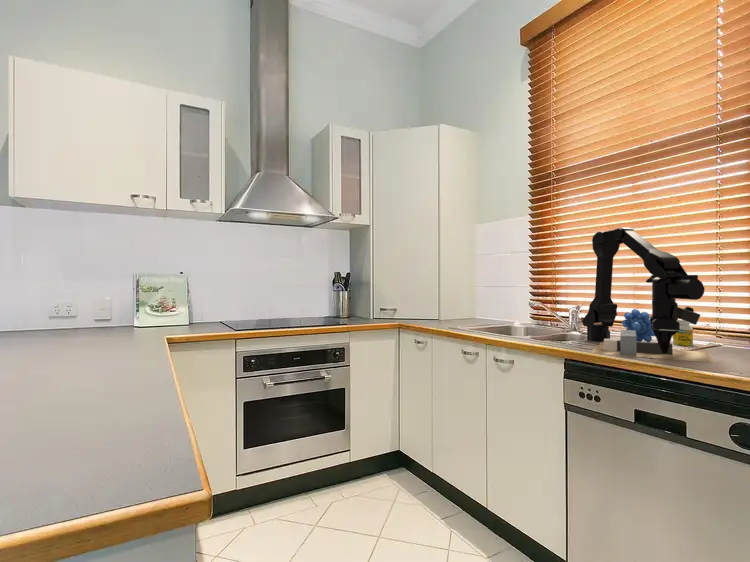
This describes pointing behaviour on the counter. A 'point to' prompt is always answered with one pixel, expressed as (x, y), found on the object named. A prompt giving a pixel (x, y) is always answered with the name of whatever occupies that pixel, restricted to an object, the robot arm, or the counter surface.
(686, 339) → the supplement bottle
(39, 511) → the counter surface
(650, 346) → the grey and white bar
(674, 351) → the mounting board
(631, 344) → the grey boxy piece
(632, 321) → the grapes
